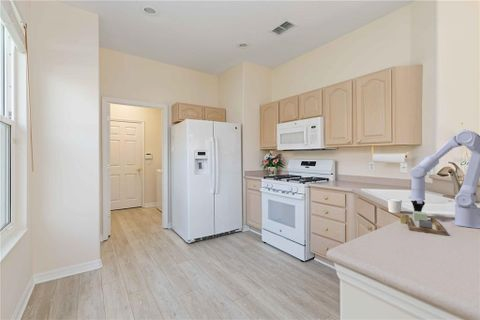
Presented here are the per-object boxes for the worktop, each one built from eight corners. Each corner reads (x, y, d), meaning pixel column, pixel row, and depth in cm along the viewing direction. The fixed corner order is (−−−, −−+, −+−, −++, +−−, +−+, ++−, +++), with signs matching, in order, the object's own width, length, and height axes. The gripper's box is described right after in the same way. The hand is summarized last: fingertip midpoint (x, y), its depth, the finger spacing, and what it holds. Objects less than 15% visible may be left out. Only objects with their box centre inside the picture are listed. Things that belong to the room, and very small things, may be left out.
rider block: (425, 220, 114) (425, 212, 114) (427, 222, 110) (427, 214, 110) (412, 218, 117) (412, 210, 117) (414, 221, 113) (414, 213, 113)
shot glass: (404, 213, 126) (404, 201, 126) (392, 213, 127) (392, 201, 126) (396, 210, 133) (396, 198, 133) (384, 210, 133) (384, 198, 133)
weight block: (430, 229, 99) (430, 220, 99) (432, 232, 96) (432, 223, 96) (419, 228, 101) (419, 219, 101) (420, 230, 98) (420, 221, 98)
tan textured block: (405, 221, 111) (405, 213, 111) (405, 223, 108) (405, 215, 108) (400, 221, 112) (400, 213, 112) (400, 222, 109) (400, 214, 109)
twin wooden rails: (434, 220, 112) (434, 218, 112) (445, 235, 92) (446, 231, 92) (404, 217, 118) (404, 214, 118) (409, 230, 99) (409, 226, 99)
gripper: (407, 187, 128) (407, 210, 128) (410, 190, 116) (409, 216, 116) (423, 188, 124) (422, 212, 125) (427, 191, 112) (427, 218, 112)
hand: (417, 214), depth 120 cm, fingers closed
